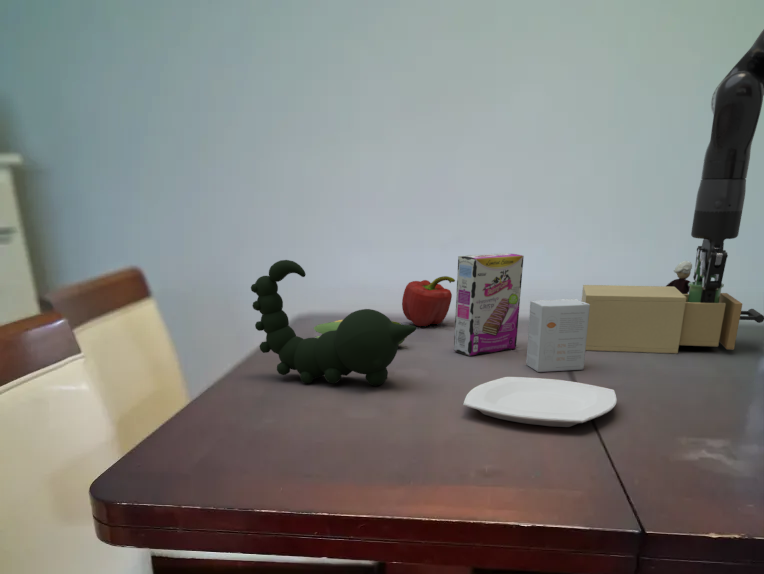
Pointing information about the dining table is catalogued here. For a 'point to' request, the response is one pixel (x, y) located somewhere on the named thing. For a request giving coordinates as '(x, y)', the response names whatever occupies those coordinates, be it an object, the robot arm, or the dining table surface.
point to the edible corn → (335, 328)
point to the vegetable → (426, 301)
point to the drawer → (714, 322)
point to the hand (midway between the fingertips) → (702, 309)
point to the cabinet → (634, 318)
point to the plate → (541, 401)
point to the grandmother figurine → (682, 277)
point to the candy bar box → (487, 303)
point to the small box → (557, 335)
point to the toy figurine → (326, 337)
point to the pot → (697, 290)
